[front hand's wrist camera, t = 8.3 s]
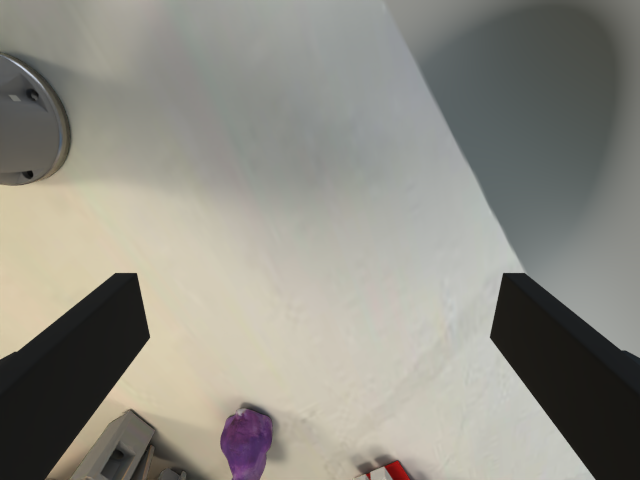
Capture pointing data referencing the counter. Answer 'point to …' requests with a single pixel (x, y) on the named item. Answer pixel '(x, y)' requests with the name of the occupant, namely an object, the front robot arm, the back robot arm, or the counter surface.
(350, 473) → the counter surface
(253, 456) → the figurine
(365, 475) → the toy
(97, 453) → the record crate
